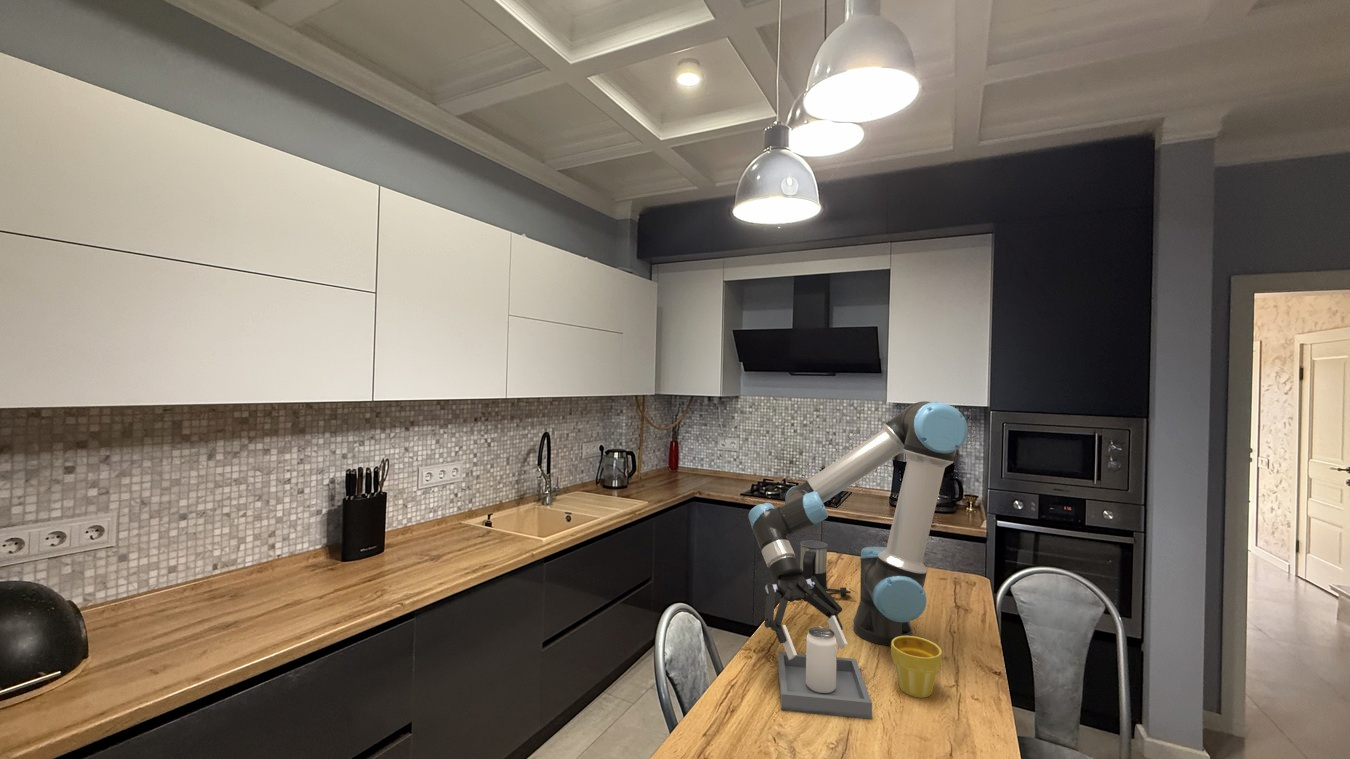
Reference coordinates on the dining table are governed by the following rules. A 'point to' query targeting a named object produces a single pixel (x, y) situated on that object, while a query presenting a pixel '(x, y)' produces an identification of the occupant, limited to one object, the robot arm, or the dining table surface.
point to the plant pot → (916, 664)
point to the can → (821, 660)
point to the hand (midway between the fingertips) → (818, 652)
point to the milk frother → (816, 563)
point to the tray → (840, 702)
